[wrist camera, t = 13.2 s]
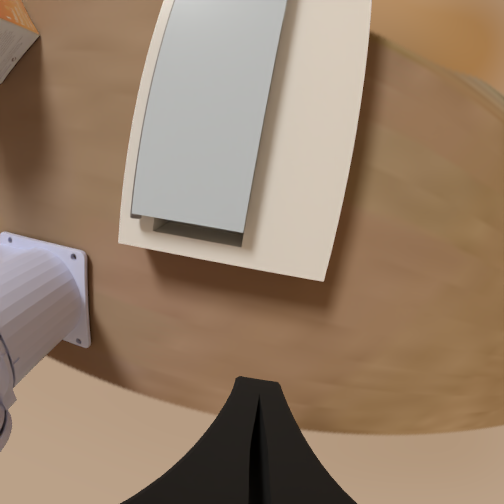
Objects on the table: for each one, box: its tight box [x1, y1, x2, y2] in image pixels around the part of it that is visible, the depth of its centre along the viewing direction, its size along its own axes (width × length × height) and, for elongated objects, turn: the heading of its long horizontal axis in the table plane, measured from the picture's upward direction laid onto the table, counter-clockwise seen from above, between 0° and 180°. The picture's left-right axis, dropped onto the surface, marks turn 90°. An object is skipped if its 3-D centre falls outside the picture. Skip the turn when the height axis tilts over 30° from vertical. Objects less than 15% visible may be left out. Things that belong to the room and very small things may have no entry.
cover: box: [130, 0, 287, 233], centre depth 12 cm, size 17×6×1 cm, turn 169°
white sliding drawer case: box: [118, 0, 372, 282], centre depth 15 cm, size 20×11×3 cm, turn 169°
